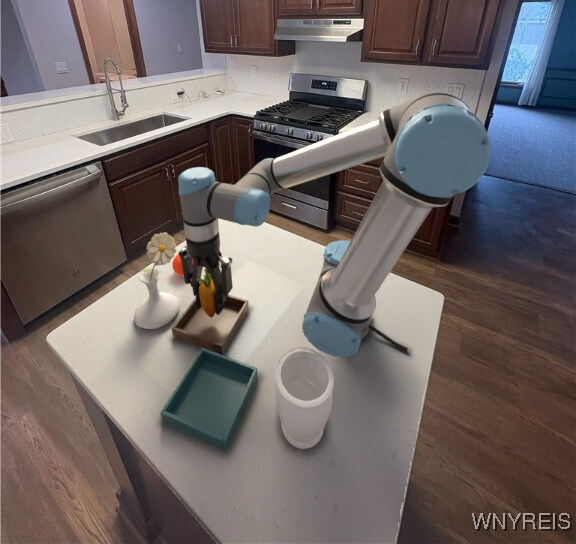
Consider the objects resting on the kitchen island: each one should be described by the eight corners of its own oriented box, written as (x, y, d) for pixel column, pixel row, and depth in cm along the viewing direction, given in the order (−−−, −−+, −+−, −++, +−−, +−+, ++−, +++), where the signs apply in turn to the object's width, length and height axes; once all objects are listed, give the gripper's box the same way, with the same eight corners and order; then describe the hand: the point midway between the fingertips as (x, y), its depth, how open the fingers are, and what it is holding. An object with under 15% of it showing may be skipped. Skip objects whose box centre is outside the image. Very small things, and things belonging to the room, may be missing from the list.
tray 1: (248, 309, 87) (248, 300, 85) (222, 356, 74) (221, 346, 73) (204, 296, 91) (203, 287, 90) (173, 337, 79) (171, 328, 77)
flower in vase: (142, 341, 78) (123, 262, 68) (130, 312, 86) (111, 237, 76) (192, 314, 85) (181, 238, 75) (176, 289, 93) (164, 218, 84)
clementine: (199, 277, 98) (197, 259, 95) (177, 285, 95) (173, 267, 92) (193, 262, 104) (191, 244, 101) (171, 269, 101) (168, 251, 98)
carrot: (216, 326, 79) (212, 281, 73) (198, 323, 80) (192, 278, 74) (224, 310, 84) (220, 266, 78) (207, 307, 84) (201, 263, 79)
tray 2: (258, 377, 70) (257, 367, 68) (226, 452, 57) (225, 442, 56) (203, 357, 74) (201, 347, 73) (162, 423, 62) (160, 412, 60)
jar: (265, 422, 62) (263, 373, 56) (300, 384, 69) (302, 336, 63) (304, 472, 55) (307, 422, 49) (339, 424, 62) (346, 375, 56)
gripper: (245, 231, 72) (248, 306, 81) (179, 216, 77) (190, 288, 86) (229, 252, 65) (234, 330, 75) (159, 234, 71) (172, 309, 80)
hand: (210, 307), depth 80 cm, fingers closed on carrot, 5 cm apart
